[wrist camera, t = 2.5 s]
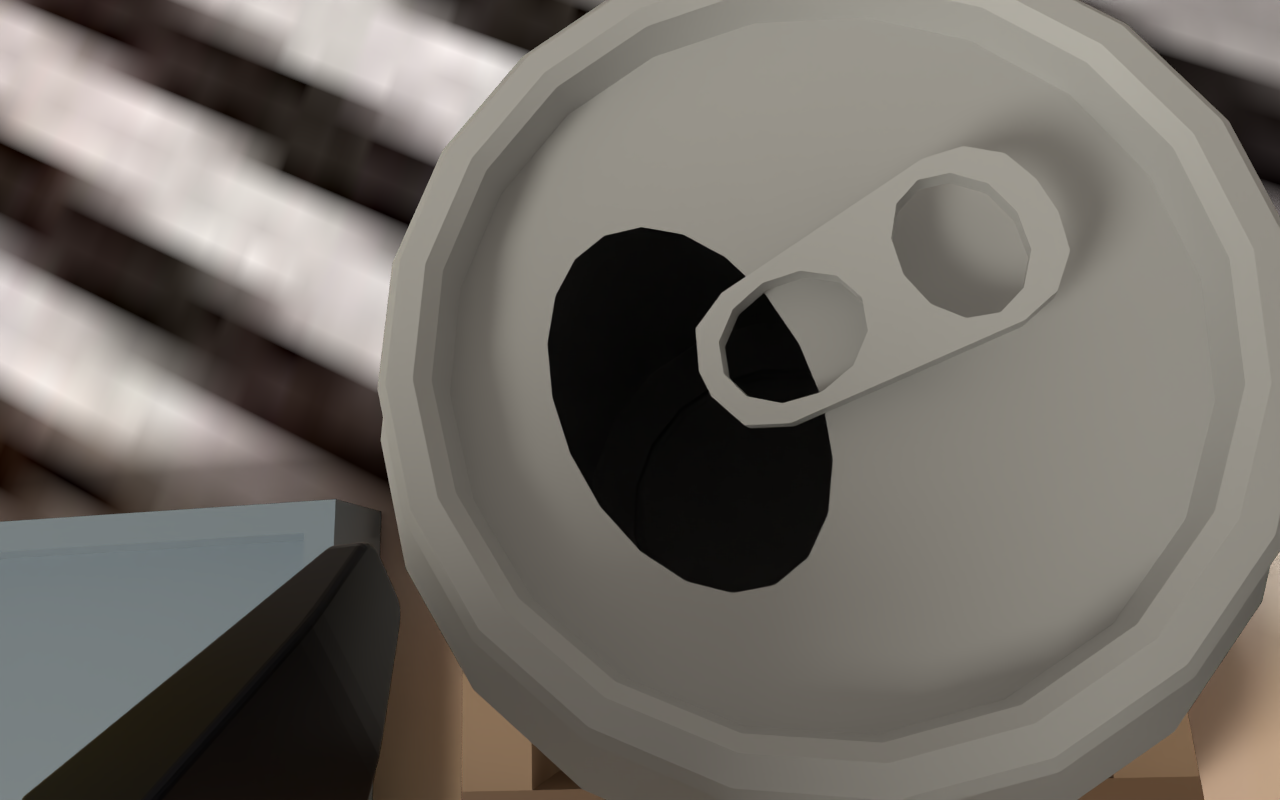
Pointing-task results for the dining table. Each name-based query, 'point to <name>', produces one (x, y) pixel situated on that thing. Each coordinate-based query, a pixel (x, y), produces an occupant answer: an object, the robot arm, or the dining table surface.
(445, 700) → the dining table surface
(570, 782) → the holder collar
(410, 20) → the dining table surface
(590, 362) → the can
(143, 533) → the tray
